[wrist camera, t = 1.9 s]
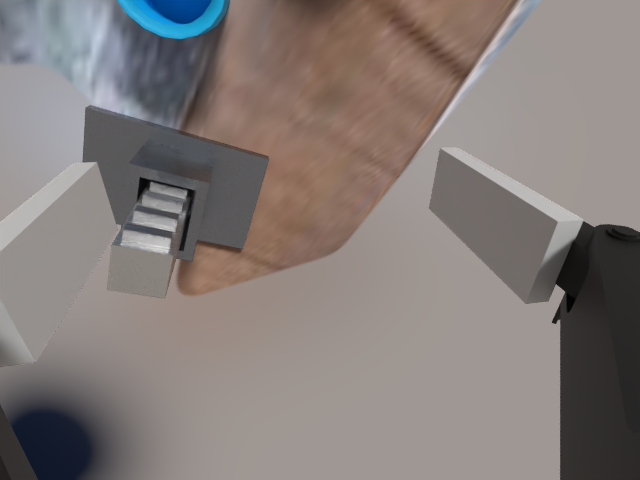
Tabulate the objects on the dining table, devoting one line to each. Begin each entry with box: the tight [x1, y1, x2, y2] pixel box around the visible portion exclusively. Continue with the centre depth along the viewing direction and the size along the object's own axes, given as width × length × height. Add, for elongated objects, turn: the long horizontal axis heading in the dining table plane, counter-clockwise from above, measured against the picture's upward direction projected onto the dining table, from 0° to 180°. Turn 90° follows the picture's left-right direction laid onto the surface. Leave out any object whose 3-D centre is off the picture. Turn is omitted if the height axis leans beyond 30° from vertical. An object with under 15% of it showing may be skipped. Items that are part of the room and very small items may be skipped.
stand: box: [83, 105, 269, 261], centre depth 37 cm, size 18×12×10 cm, turn 70°
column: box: [107, 180, 194, 298], centre depth 33 cm, size 4×6×16 cm
